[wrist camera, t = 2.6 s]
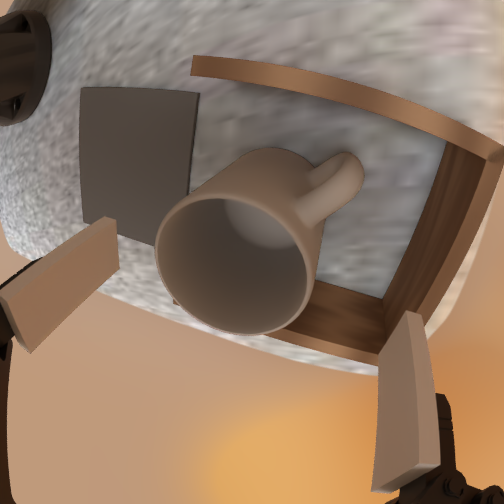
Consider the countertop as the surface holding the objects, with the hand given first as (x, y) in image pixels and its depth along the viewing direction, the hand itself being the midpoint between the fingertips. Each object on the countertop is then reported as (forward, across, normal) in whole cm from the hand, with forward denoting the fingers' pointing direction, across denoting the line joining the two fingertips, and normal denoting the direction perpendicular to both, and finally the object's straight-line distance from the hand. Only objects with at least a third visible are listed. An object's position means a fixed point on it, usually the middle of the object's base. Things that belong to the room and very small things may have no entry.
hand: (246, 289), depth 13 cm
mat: (+13, -16, -1) cm, 20 cm away
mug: (+13, 0, 0) cm, 13 cm away
